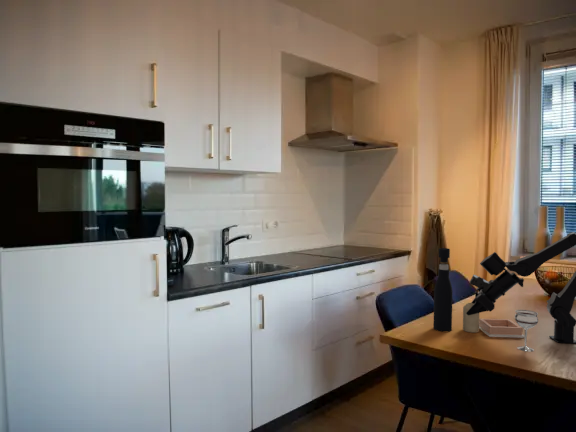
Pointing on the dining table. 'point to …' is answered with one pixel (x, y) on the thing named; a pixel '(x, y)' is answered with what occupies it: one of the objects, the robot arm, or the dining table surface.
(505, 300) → the dining table surface
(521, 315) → the wineglass
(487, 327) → the pink square tray
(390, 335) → the dining table surface
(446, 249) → the wine bottle
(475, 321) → the candle
